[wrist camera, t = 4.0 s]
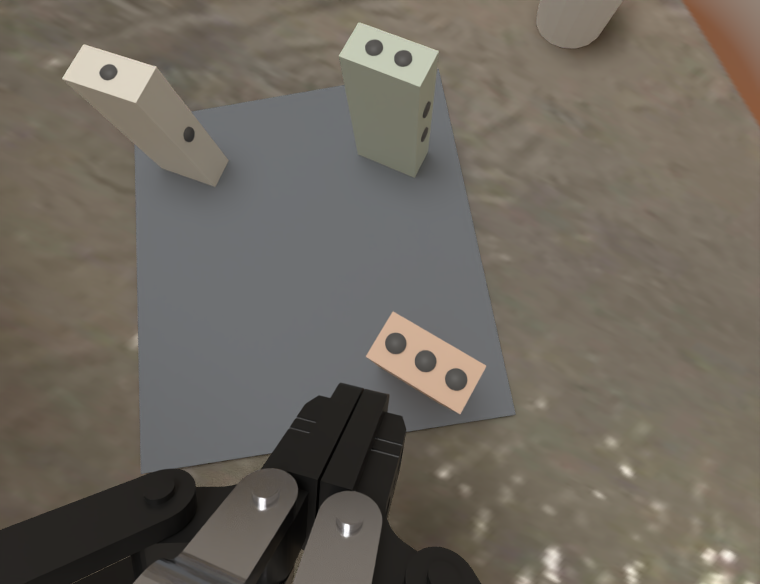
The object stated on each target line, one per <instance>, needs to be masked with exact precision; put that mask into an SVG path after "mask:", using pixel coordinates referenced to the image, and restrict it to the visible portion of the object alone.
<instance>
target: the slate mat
mask: <svg viewBox="0 0 760 584" xmlns="http://www.w3.org/2000/svg"><path fill="white" fill-rule="evenodd" d="M192 114H193V115H194V116H195V117H196V119H197V120H198V121H199V123H200V124H201V125H202V127H203V128H204V129H205V130H206V132H207V133H208V134H209V136H210V137H211V138H212V139H213V141H214V142H215V143H216V145H217V146H218V147H219V148H220V150H221V151H222V152H223V154H224V155H225V156H226V158H227V159H228V160H229V161H228V163H227V165H226V167H225V169H224V171H223V173H222V175H221V177H220V179H219V181H218V183H217V185H216V187H214V186H211V185H208V184H205V183H202V182H199V181H197V180H194V179H191V178H188V177H185V176H182V175H179V174H177V173H174V172H171V171H168V170H165V169H162V168H161V167H160V166H158V165H157V164H156V163H155V162H154V161H153V160H152V159H151V158H150V157H148V156H147V155H146V154H145V153H144V152H143V151H142V150H141V149H140V148H138V147H137V146H136V145H135V190H136V242H137V295H138V348H139V400H140V453H141V474H143V473H149V472H155V471H158V470H163V469H174V468H181V467H187V466H193V465H200V464H206V463H212V462H219V461H225V460H231V459H238V458H244V457H250V456H257V455H263V454H269V453H272V452H273V451H274V449H275V448H276V446H277V445H278V443H279V442H280V440H281V439H282V437H283V436H284V434H285V433H286V431H287V430H288V429H289V428H290V426H291V424H292V423H293V421H294V420H295V419H296V418H297V415H298V414H299V412H300V411H301V409H302V408H303V406H304V405H305V404H306V403H307V402H309V401H310V400H312V399H314V398H315V397H317V396H318V395H320V396H324V397H328V398H331V396H332V394H333V393H334V391H335V389H336V387H337V386H338V384H339V383H345V384H349V385H353V386H357V387H361V388H364V390H365V389H369V390H374V391H378V392H382V393H386V394H389V405H388V413H392V414H396V415H400V416H403V420H404V423H405V427H406V432H408V431H415V430H421V429H427V428H434V427H440V426H446V425H453V424H459V423H465V422H472V421H478V420H484V419H491V418H497V417H503V416H510V415H516V414H515V410H514V405H513V401H512V396H511V392H510V387H509V383H508V378H507V374H506V369H505V365H504V360H503V356H502V351H501V347H500V342H499V338H498V333H497V329H496V324H495V320H494V315H493V311H492V307H491V302H490V298H489V293H488V289H487V284H486V280H485V275H484V271H483V266H482V262H481V257H480V253H479V248H478V244H477V239H476V235H475V230H474V226H473V221H472V217H471V212H470V208H469V203H468V199H467V194H466V190H465V186H464V181H463V177H462V172H461V168H460V163H459V159H458V154H457V150H456V145H455V141H454V136H453V132H452V127H451V123H450V118H449V114H448V109H447V105H446V100H445V96H444V91H443V87H442V82H441V78H440V73H439V69H437V74H436V83H435V92H434V101H433V110H432V120H431V129H430V138H429V147H428V153H427V155H426V157H425V159H424V161H423V163H422V164H421V166H420V168H419V170H418V172H417V174H416V176H415V178H414V177H411V176H409V175H406V174H404V173H402V172H399V171H397V170H394V169H392V168H390V167H387V166H385V165H382V164H380V163H378V162H375V161H373V160H370V159H368V158H366V157H363V156H361V155H358V152H357V147H356V142H355V137H354V132H353V127H352V121H351V116H350V111H349V106H348V101H347V96H346V91H345V85H342V86H336V87H331V88H325V89H319V90H313V91H308V92H302V93H296V94H290V95H285V96H279V97H273V98H267V99H262V100H256V101H250V102H244V103H239V104H233V105H227V106H221V107H216V108H210V109H204V110H198V111H193V112H192ZM392 312H395V313H397V314H398V315H400V316H402V317H404V318H405V319H407V320H409V321H410V322H412V323H414V324H416V325H417V326H419V327H421V328H422V329H424V330H426V331H428V332H429V333H431V334H433V335H434V336H436V337H438V338H440V339H441V340H443V341H445V342H446V343H448V344H450V345H452V346H453V347H455V348H457V349H459V350H460V351H462V352H464V353H465V354H467V355H469V356H471V357H472V358H474V359H476V360H477V361H479V362H481V363H483V364H484V365H486V368H485V370H484V372H483V373H482V375H481V377H480V379H479V381H478V383H477V385H476V386H475V388H474V390H473V392H472V394H471V396H470V397H469V399H468V401H467V403H466V405H465V407H464V408H463V410H462V412H461V414H458V413H457V412H455V411H453V410H451V409H449V408H447V407H445V406H443V405H441V404H439V403H437V402H436V401H434V400H433V399H431V398H429V397H428V396H426V395H424V394H423V393H421V392H419V391H418V390H416V389H415V388H413V387H411V386H410V385H408V384H406V383H405V382H403V381H402V380H400V379H398V378H397V377H395V376H393V375H392V374H390V373H388V372H387V371H385V370H384V369H382V368H380V367H379V366H377V365H376V364H375V363H373V362H372V361H371V360H369V359H368V358H367V357H366V355H367V353H368V352H369V350H370V348H371V347H372V345H373V343H374V342H375V340H376V338H377V337H378V335H379V333H380V332H381V330H382V329H383V327H384V325H385V324H386V322H387V320H388V319H389V317H390V315H391V314H392Z"/></svg>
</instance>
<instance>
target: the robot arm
mask: <svg viewBox="0 0 760 584" xmlns="http://www.w3.org/2000/svg"><path fill="white" fill-rule="evenodd" d="M388 405H389V394H386V393H382V392H378V391H374V390H369V389H365V390H364V388H361V387H357V386H353V385H349V384H345V383H339V384H338V386H337V387H336V389H335V391H334V393H333V394H332V396H331V398H328V397H324V396H320V395H318V396H317V397H315V398H314V399H312V400H310V401H309V402H307V403H306V404H305V405H304V406H303V408H302V409H301V411H300V412H299V414H298V415H297V418H296V419H295V420H294V421H293V423H292V424H291V426H290V428H289V429H288V430H287V431H286V433H285V434H284V436H283V437H282V439H281V440H280V442H279V443H278V445H277V446H276V448H275V449H274V451H273V452H272V454H271V455H270V457H269V458H268V460H267V461H266V463H265V464H264V466H263V467H262V468H261V469H260V470H257V471H255V472H252V473H250V474H249V475H247V476H246V477H244V478H243V479H242V480H241V481H240V482H239V483H238V484H236V485H232V486H225V487H196V486H195V481H194V479H193V477H192V476H191V475H190V474H189V473H187V472H186V471H183V470H180V469H163V470H158V471H155V472H152V473H149V474H147V475H144V476H141V477H139V478H136V479H134V480H131V481H128V482H126V483H123V484H120V485H118V486H115V487H112V488H110V489H107V490H105V491H102V492H99V493H97V494H94V495H91V496H89V497H86V498H83V499H81V500H78V501H76V502H73V503H70V504H68V505H65V506H62V507H60V508H57V509H54V510H52V511H49V512H47V513H44V514H41V515H39V516H36V517H33V518H31V519H28V520H25V521H23V522H20V523H18V524H15V525H12V526H10V527H7V528H4V529H2V530H0V584H71V583H73V582H75V581H77V580H79V581H77V582H75V583H73V584H292V582H293V584H481V583H480V581H479V580H478V578H477V576H476V575H475V573H474V572H473V570H472V569H471V567H470V566H469V564H468V563H467V562H466V561H465V560H464V559H463V558H462V557H460V556H459V555H458V554H456V553H455V552H453V551H451V550H448V549H446V548H442V547H428V548H424V549H422V550H420V551H418V552H417V551H416V550H414V549H413V548H411V547H410V546H409V545H407V544H406V543H404V542H403V541H402V540H401V539H399V538H398V537H397V535H396V534H395V533H394V532H393V530H392V529H391V527H390V525H389V523H388V520H387V517H388V514H389V510H390V506H391V502H392V498H393V494H394V490H395V486H396V482H397V479H398V475H399V471H400V465H401V459H402V453H403V447H404V441H405V436H406V427H405V423H404V420H403V416H400V415H396V414H392V413H388ZM301 549H303V550H304V553H303V556H302V559H301V562H300V564H299V567H298V570H297V573H296V576H295V579H294V581H293V578H294V566H295V561H296V559H297V557H298V555H299V552H300V550H301ZM128 556H130V557H128ZM126 557H127V558H126ZM124 558H125V559H124ZM122 559H123V560H122ZM120 560H121V561H120ZM117 561H119V562H117ZM115 562H117V563H115ZM113 563H115V564H113ZM111 564H113V565H111ZM109 565H111V566H109ZM107 566H109V567H107ZM105 567H107V568H105ZM103 568H104V569H103ZM101 569H102V570H101ZM99 570H100V571H99ZM96 571H98V572H96ZM94 572H96V573H94ZM92 573H94V574H92ZM90 574H92V575H90ZM88 575H90V576H88ZM86 576H88V577H86ZM84 577H86V578H84ZM82 578H83V579H82ZM80 579H81V580H80Z"/></svg>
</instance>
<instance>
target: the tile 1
mask: <svg viewBox="0 0 760 584" xmlns="http://www.w3.org/2000/svg"><path fill="white" fill-rule="evenodd" d="M62 79H63V80H64V81H65V82H66V83H67V84H68V85H70V86H71V87H72V88H73V89H74V90H75V91H76V92H77V93H78V94H80V95H81V96H82V97H83V98H84V99H85V100H86V101H87V102H88V103H90V104H91V105H92V106H93V107H94V108H95V109H96V110H97V111H98V112H100V113H101V114H102V115H103V116H104V117H105V118H106V119H107V120H108V121H110V122H111V123H112V124H113V125H114V126H115V127H116V128H117V129H118V130H120V131H121V132H122V133H123V134H124V135H125V136H126V137H127V138H128V139H130V140H131V141H132V142H133V143H134V144H135V145H136V146H137V147H138V148H140V149H141V150H142V151H143V152H144V153H145V154H146V155H147V156H148V157H150V158H151V159H152V160H153V161H154V162H155V163H156V164H157V165H158V166H160V167H161V168H162V169H165V170H168V171H171V172H174V173H177V174H179V175H182V176H185V177H188V178H191V179H194V180H197V181H199V182H202V183H205V184H208V185H211V186H214V187H216V185H217V183H218V181H219V179H220V177H221V175H222V173H223V171H224V169H225V167H226V165H227V163H228V161H229V160H228V159H227V158H226V156H225V155H224V154H223V152H222V151H221V150H220V148H219V147H218V146H217V145H216V143H215V142H214V141H213V139H212V138H211V137H210V136H209V134H208V133H207V132H206V130H205V129H204V128H203V127H202V125H201V124H200V123H199V121H198V120H197V119H196V117H195V116H194V115H193V114H192V112H191V111H190V110H189V108H188V107H187V106H186V105H185V103H184V102H183V101H182V99H181V98H180V97H179V96H178V94H177V93H176V92H175V90H174V89H173V88H172V86H171V85H170V84H169V83H168V81H167V80H166V79H165V77H164V76H163V75H162V74H161V72H160V71H159V70H158V68H157V67H155V66H152V65H148V64H145V63H142V62H139V61H136V60H132V59H129V58H126V57H123V56H120V55H116V54H113V53H110V52H107V51H104V50H100V49H97V48H94V47H91V46H88V45H84V44H83V46H82V47H81V49H80V51H79V52H78V54H77V56H76V57H75V59H74V60H73V62H72V64H71V65H70V67H69V68H68V70H67V72H66V73H65V75H64V76H63V78H62Z"/></svg>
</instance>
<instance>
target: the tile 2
mask: <svg viewBox="0 0 760 584" xmlns="http://www.w3.org/2000/svg"><path fill="white" fill-rule="evenodd" d="M438 55H439V51H437V50H434V49H431V48H429V47H426V46H423V45H420V44H418V43H415V42H412V41H409V40H407V39H404V38H401V37H398V36H396V35H393V34H390V33H387V32H384V31H382V30H379V29H376V28H373V27H371V26H368V25H365V24H362V23H360V22H359V23H358V24H357V26H356V28H355V30H354V31H353V33H352V35H351V36H350V38H349V40H348V41H347V43H346V45H345V47H344V48H343V50H342V52H341V53H340V55H339V60H340V65H341V70H342V75H343V80H344V85H345V91H346V96H347V101H348V106H349V111H350V116H351V121H352V127H353V132H354V137H355V142H356V147H357V152H358V155H361V156H363V157H366V158H368V159H370V160H373V161H375V162H378V163H380V164H382V165H385V166H387V167H390V168H392V169H394V170H397V171H399V172H402V173H404V174H406V175H409V176H411V177H414V178H415V176H416V174H417V172H418V170H419V168H420V166H421V164H422V163H423V161H424V159H425V157H426V155H427V153H428V147H429V138H430V129H431V120H432V110H433V101H434V92H435V83H436V74H437V64H438Z"/></svg>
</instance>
